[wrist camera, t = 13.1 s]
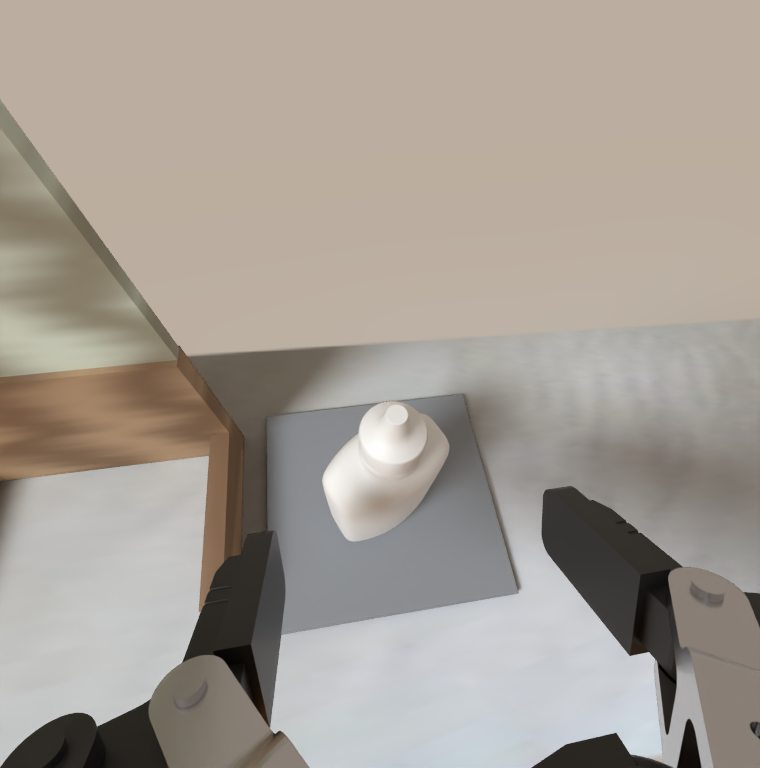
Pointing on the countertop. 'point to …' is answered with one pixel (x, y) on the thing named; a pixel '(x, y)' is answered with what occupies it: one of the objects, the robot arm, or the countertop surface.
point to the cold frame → (95, 357)
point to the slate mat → (389, 550)
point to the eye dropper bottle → (384, 470)
